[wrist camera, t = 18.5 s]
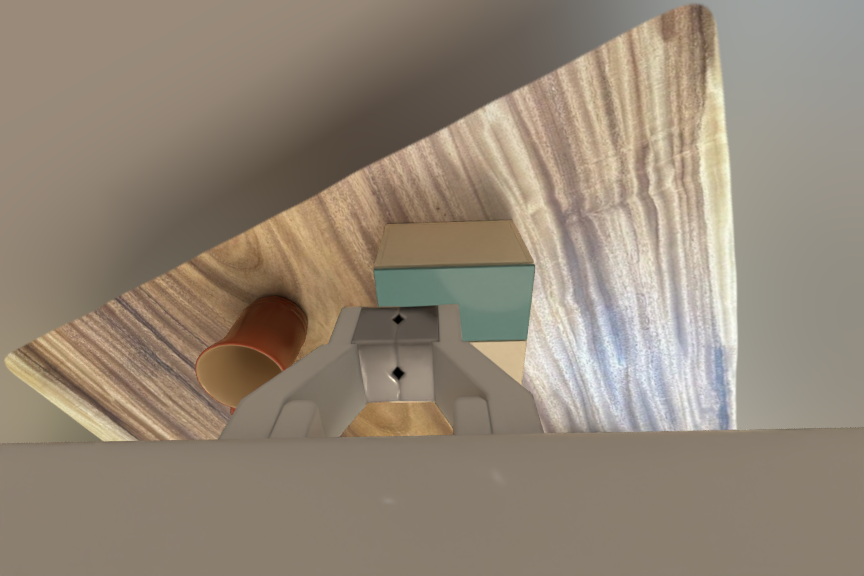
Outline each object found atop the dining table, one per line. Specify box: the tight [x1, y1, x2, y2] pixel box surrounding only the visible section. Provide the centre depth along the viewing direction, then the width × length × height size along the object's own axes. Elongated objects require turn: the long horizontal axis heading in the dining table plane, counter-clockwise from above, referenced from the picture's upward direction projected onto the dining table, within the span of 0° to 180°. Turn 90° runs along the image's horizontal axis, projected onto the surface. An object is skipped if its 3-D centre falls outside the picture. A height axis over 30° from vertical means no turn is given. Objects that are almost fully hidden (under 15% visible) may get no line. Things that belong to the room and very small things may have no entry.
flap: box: [374, 264, 535, 341], centre depth 32 cm, size 7×13×1 cm, turn 92°
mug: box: [195, 296, 308, 415], centre depth 42 cm, size 12×9×10 cm
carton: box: [374, 220, 534, 403], centre depth 39 cm, size 15×13×10 cm
